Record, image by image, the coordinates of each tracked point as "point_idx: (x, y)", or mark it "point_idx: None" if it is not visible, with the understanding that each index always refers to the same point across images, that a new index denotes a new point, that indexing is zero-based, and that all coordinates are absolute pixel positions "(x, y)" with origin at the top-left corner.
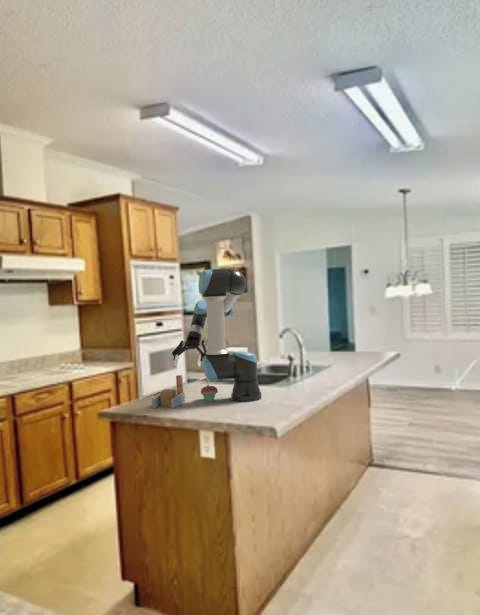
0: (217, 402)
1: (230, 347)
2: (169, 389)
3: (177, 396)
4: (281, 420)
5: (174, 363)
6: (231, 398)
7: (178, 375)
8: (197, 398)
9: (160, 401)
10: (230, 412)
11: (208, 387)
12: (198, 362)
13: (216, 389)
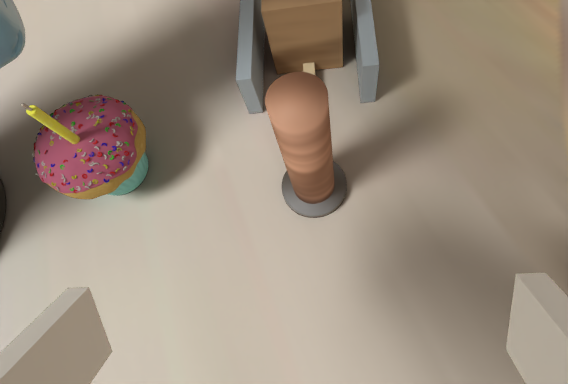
0: None
1: None
2: (307, 1)
3: (243, 2)
4: None
5: (533, 285)
6: (2, 194)
7: (308, 104)
8: (200, 194)
9: (354, 22)
10: (17, 8)
11: (72, 108)
12: (50, 312)
13: (36, 139)
